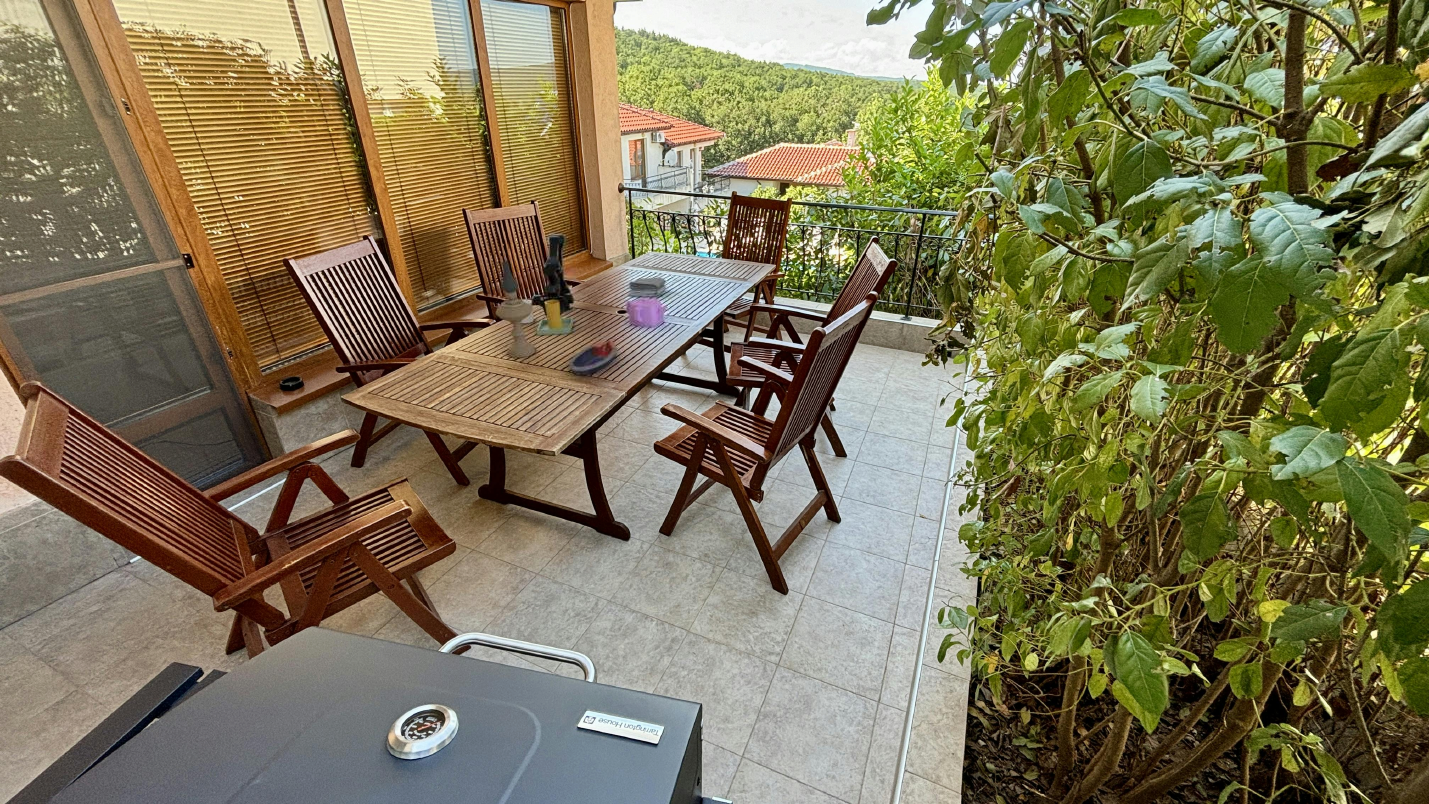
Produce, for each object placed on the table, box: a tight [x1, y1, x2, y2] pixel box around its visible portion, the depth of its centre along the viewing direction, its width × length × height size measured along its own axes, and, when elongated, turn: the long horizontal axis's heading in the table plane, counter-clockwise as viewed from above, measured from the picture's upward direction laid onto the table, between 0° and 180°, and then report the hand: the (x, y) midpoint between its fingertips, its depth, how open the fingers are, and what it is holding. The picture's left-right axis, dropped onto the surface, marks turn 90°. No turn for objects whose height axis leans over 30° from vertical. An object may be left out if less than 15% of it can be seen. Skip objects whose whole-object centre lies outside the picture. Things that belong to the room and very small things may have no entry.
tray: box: [536, 317, 574, 336], centre depth 288 cm, size 15×15×2 cm
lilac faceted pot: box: [625, 297, 668, 328], centre depth 291 cm, size 17×17×12 cm
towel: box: [628, 277, 667, 298], centre depth 336 cm, size 15×18×8 cm
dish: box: [568, 340, 618, 376], centre depth 248 cm, size 16×31×5 cm, turn 160°
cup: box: [545, 300, 563, 329], centre depth 285 cm, size 7×7×13 cm
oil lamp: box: [495, 260, 536, 358], centre depth 253 cm, size 15×15×40 cm
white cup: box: [521, 299, 535, 324], centre depth 297 cm, size 8×8×10 cm
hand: (553, 315), depth 284 cm, fingers closed on cup, 6 cm apart
